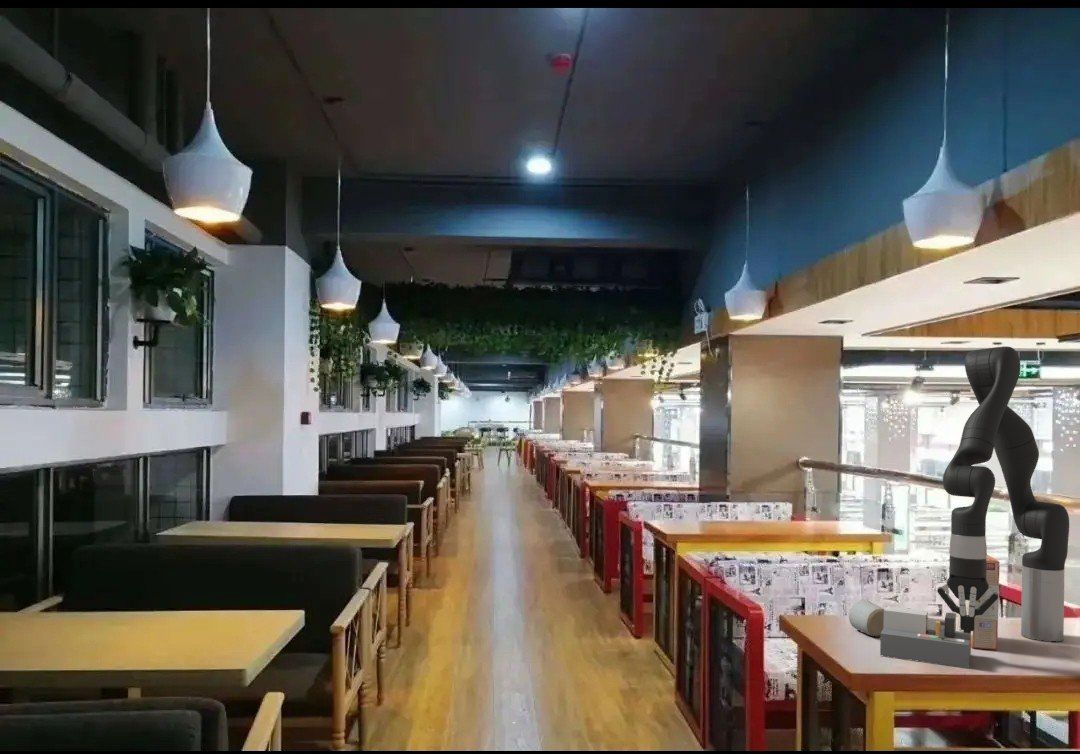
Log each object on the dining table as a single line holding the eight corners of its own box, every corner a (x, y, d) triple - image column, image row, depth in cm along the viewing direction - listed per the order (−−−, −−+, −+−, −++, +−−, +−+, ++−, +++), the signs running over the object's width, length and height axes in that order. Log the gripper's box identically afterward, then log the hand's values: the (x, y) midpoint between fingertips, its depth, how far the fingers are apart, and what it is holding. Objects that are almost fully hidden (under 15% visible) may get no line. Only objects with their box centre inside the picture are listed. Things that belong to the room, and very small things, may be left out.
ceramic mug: (867, 639, 221) (868, 607, 221) (847, 630, 229) (848, 599, 229) (905, 637, 224) (906, 606, 224) (884, 629, 232) (885, 598, 232)
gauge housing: (886, 643, 217) (887, 604, 218) (970, 654, 209) (971, 614, 209) (880, 655, 207) (880, 614, 207) (968, 668, 199) (969, 625, 199)
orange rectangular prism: (936, 634, 205) (936, 621, 205) (939, 635, 205) (940, 621, 205) (935, 635, 204) (935, 622, 204) (939, 636, 204) (939, 622, 204)
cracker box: (999, 651, 213) (1000, 560, 214) (971, 649, 214) (972, 559, 215) (983, 635, 227) (984, 550, 227) (956, 633, 228) (958, 549, 229)
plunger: (904, 624, 214) (904, 607, 214) (955, 631, 209) (956, 613, 209) (900, 633, 206) (900, 615, 206) (953, 640, 201) (953, 621, 201)
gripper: (1001, 555, 206) (1000, 632, 206) (937, 549, 212) (936, 625, 212) (1000, 560, 200) (1000, 640, 199) (934, 554, 206) (933, 632, 205)
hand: (967, 632), depth 206 cm, fingers closed
